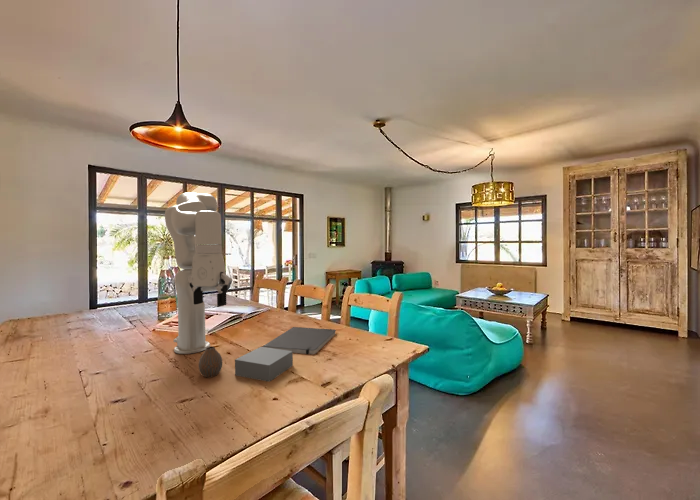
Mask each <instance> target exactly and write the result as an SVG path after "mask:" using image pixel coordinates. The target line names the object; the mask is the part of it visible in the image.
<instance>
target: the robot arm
mask: <svg viewBox="0 0 700 500" xmlns="http://www.w3.org/2000/svg"><path fill="white" fill-rule="evenodd" d="M164 221H165V225H166V228H167V231H168V233H169V235H170V237H171V239H172V241H173V247H174V253H175V254H174V255H175V262H176V265H177V266H178V268H180V269H181V270H179V271H178V272H176V273H175V275H174V286H175V290H176V297H177V298H176V299H177V323H178V324H177V325H178V326H177V327H178V333H177V334H178V336H176V338H173V342H174V343H176V346H175V347H174V349H173V351H174V352H175V354H180V355H188V354H196V353H200V352H205V350H206V348H207V347H211V343H210V342H209V341H206V339H207V338H206V304H205V302H204V293H207V292H216V291H217V292H218V293H217V294H216V305H217V307H224V306H226V305H227V293H228V292H229V290H230V288H231V285H232V283H233V278H232V277H230V276H229V275H227V274H226V265H225V259H224V255H223V251H222V250H223V249H222V246H223V245H222V243H223V242H222V215H221V213H220V212H218V202H217V199H216V197H215V195H212V194H209V193H201V192H200V193H199V192H198V193H197V192H184V193H181V194H179V195H178V196H177V198H176V205H173V206H172V205H171V206H168V207H167V209H166V210H165V212H164Z"/></svg>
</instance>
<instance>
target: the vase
mask: <svg viewBox="0 0 700 500" xmlns="http://www.w3.org/2000/svg"><path fill="white" fill-rule="evenodd" d="M222 368H223V357H222V355H221V353H220V352H219V351H218V350H217V349H216V347H215V346H211V345H210V347H207V348H206V350H204V351H203V353H202V355H201V356H200V357H199V360H198V370H199V373H200V374H201V375H202V376H203V377H204V378H213V377H216V376H217V375H219V374H220V372H221V371H222Z"/></svg>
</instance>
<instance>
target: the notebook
mask: <svg viewBox="0 0 700 500" xmlns="http://www.w3.org/2000/svg"><path fill="white" fill-rule="evenodd" d="M336 332H337V330H336V329H331V328H319V327H317V328H315V327H299V326H292V327H291V328H289V329H288V330H286V331H284V332H283V333H282V334H279V335H278V336H277V337H275V338H274V339H272V340H270V341H269V342H267V343H265V344H264V345H262V347H267V348H274V349H281V350H288V351H293V353H294V354H304V355H305V354H306V355H315V354H317V353H318V352H319V351H320V350H321V349H322V348H323V347H324V346H325V345H326V344H327V343H328V342H329V341H330V340H331V339H332V338H334V336H335V335H336Z"/></svg>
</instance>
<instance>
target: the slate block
mask: <svg viewBox="0 0 700 500" xmlns="http://www.w3.org/2000/svg"><path fill="white" fill-rule="evenodd" d="M293 356H294V355H293V351H288V350H281V349H274V348H267V347H263V346H260V347H258V348H256V349H253V350H252V351H249V352H248V353H245V354H243V355H242V356H239V357H237V358H235V359H234V376H238V377H242V378H248V379H253V380H259V381H264V382H269V383H270V382H272V381H273V380H274V379H275V378H277V377H279V376H281V375H282V374H283V373H284V372H286V371H287V370H290V368H292V367H293V364H294V362H293V359H294V358H293Z"/></svg>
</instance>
